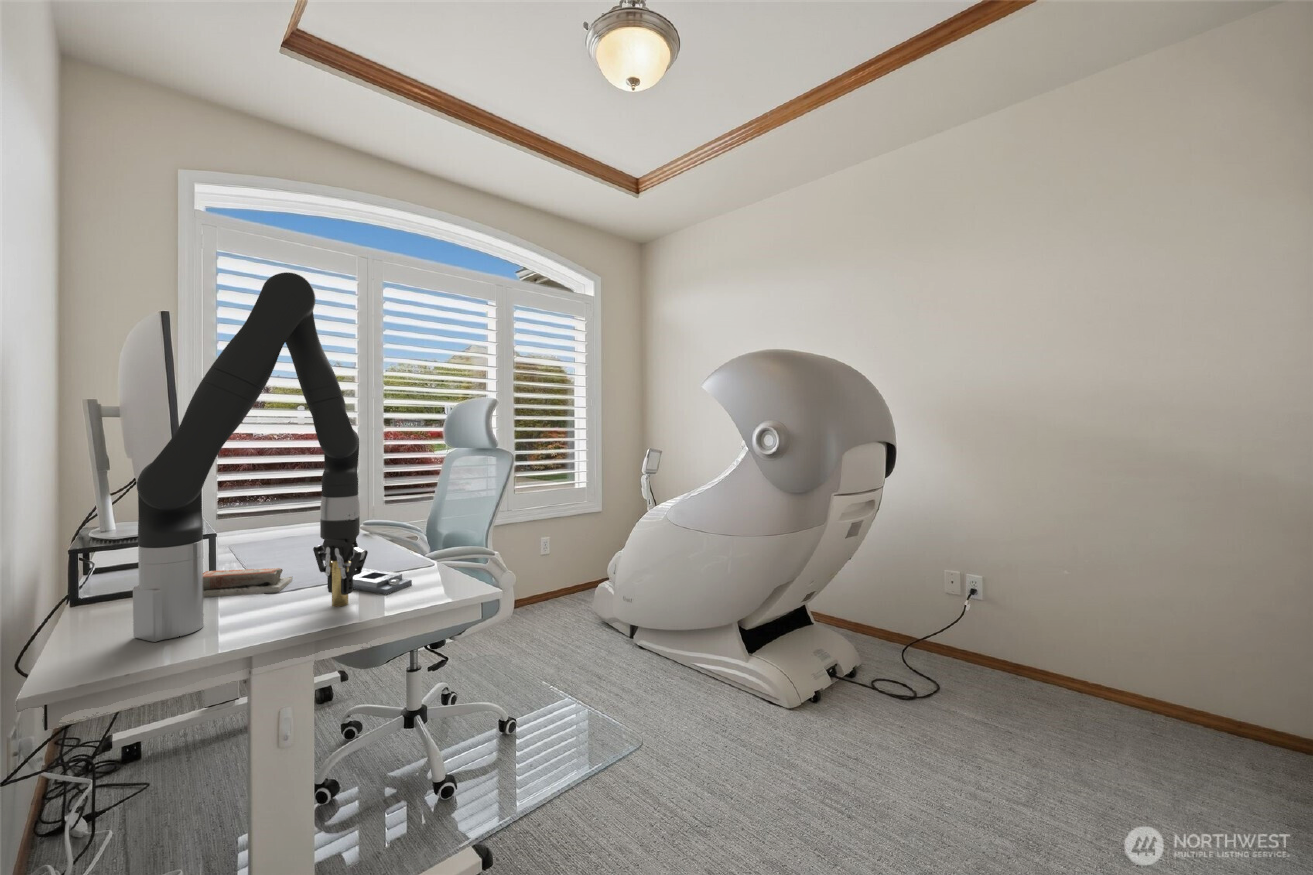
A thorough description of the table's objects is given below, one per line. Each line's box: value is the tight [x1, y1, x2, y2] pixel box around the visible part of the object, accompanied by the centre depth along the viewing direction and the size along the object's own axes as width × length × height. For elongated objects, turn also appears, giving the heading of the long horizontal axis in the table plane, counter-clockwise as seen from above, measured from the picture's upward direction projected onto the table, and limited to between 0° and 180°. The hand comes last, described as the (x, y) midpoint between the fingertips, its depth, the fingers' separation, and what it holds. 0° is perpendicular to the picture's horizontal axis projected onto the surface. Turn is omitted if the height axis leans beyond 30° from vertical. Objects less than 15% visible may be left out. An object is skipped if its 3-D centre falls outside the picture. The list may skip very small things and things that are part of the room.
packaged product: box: [203, 567, 294, 598], centre depth 131 cm, size 18×5×10 cm
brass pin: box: [331, 560, 349, 608], centre depth 121 cm, size 3×3×10 cm
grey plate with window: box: [348, 567, 413, 595], centre depth 135 cm, size 8×18×3 cm, turn 71°
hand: (340, 592), depth 121 cm, fingers closed on brass pin, 3 cm apart
